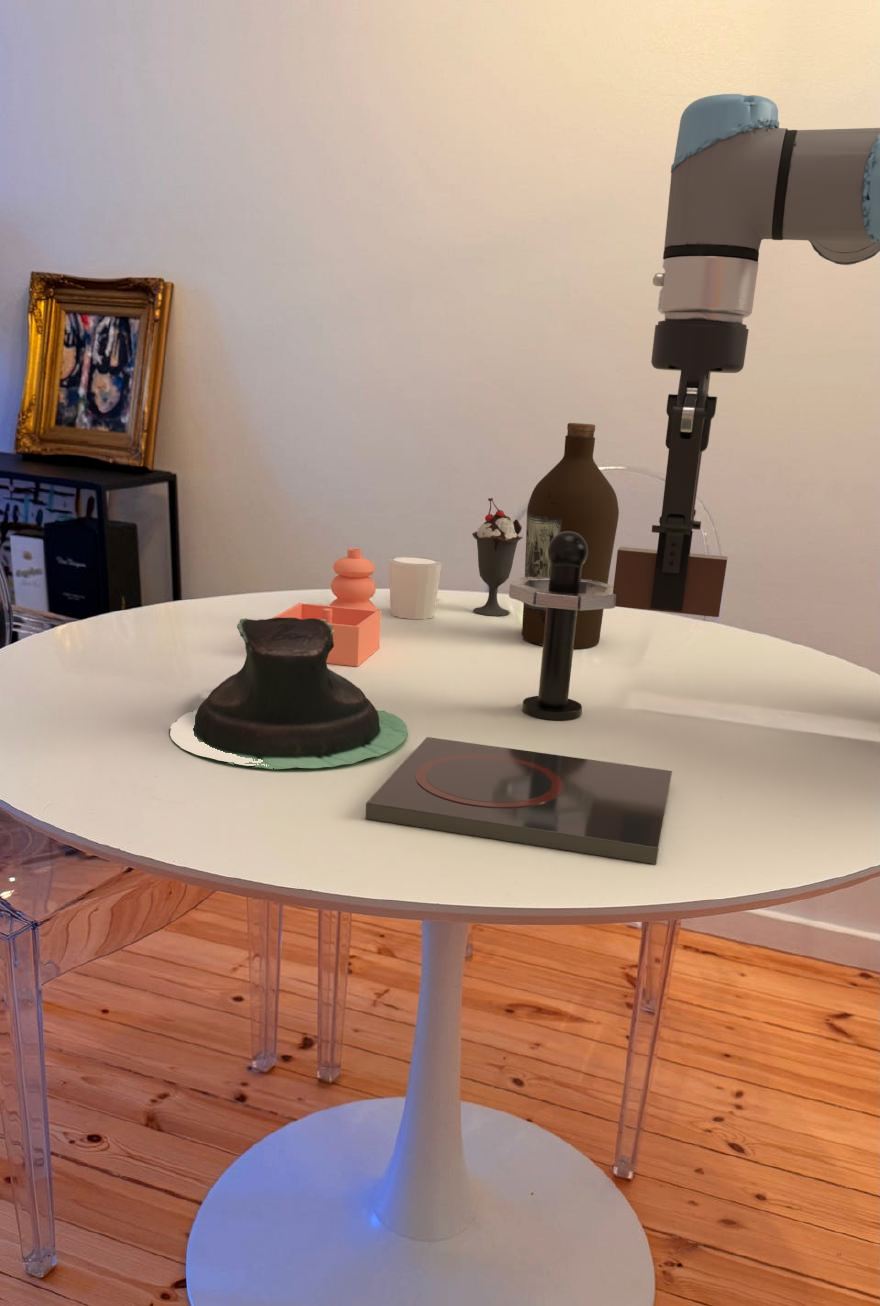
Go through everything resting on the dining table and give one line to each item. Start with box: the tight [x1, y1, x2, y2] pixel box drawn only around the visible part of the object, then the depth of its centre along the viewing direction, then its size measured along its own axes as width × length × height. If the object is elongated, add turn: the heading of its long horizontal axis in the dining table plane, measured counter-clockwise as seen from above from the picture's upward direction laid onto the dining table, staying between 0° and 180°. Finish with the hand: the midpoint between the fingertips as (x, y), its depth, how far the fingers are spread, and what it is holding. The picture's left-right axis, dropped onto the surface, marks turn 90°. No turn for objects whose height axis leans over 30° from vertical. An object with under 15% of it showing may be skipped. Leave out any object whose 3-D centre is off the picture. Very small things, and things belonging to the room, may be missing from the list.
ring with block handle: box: [508, 546, 728, 618], centre depth 97 cm, size 19×10×5 cm, turn 75°
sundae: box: [471, 497, 524, 617], centre depth 142 cm, size 7×7×15 cm
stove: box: [365, 736, 673, 865], centre depth 80 cm, size 20×16×1 cm
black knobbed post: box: [521, 531, 588, 721], centre depth 100 cm, size 6×6×17 cm
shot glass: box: [388, 556, 443, 620], centre depth 139 cm, size 7×7×7 cm
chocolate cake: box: [193, 616, 409, 770], centre depth 91 cm, size 15×19×20 cm
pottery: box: [272, 547, 382, 667], centre depth 121 cm, size 18×10×10 cm, turn 168°
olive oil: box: [521, 422, 620, 649], centre depth 127 cm, size 11×11×25 cm
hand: (667, 605), depth 97 cm, fingers closed on ring with block handle, 2 cm apart
